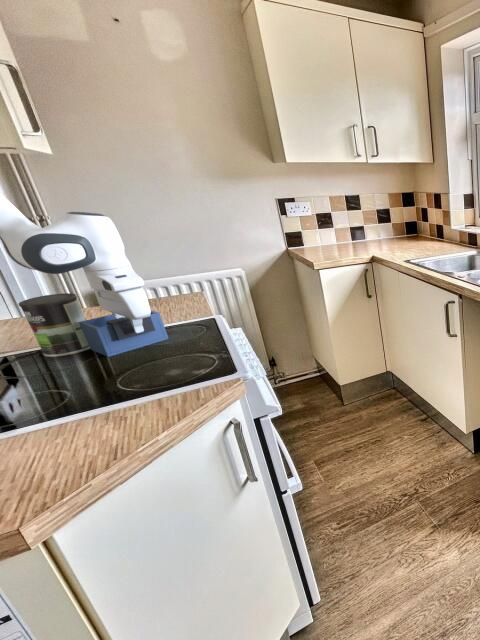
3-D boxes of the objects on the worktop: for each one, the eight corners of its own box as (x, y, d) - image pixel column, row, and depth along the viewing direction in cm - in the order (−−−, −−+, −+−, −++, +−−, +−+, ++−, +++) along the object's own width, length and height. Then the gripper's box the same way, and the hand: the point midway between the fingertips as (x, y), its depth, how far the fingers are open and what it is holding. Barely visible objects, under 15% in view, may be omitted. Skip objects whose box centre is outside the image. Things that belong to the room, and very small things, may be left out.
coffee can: (60, 359, 107) (34, 306, 101) (34, 354, 109) (8, 303, 104) (106, 343, 116) (85, 294, 110) (81, 340, 118) (59, 291, 113)
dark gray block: (119, 340, 108) (112, 323, 106) (112, 338, 109) (105, 321, 107) (155, 330, 114) (149, 314, 112) (148, 328, 116) (143, 312, 114)
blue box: (108, 357, 107) (96, 328, 104) (90, 349, 112) (78, 322, 109) (168, 338, 118) (159, 312, 115) (150, 332, 123) (141, 307, 120)
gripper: (79, 276, 108) (100, 327, 113) (114, 286, 99) (136, 340, 104) (109, 271, 113) (128, 320, 118) (146, 279, 104) (165, 332, 109)
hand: (132, 329), depth 111 cm, fingers open, 6 cm apart
